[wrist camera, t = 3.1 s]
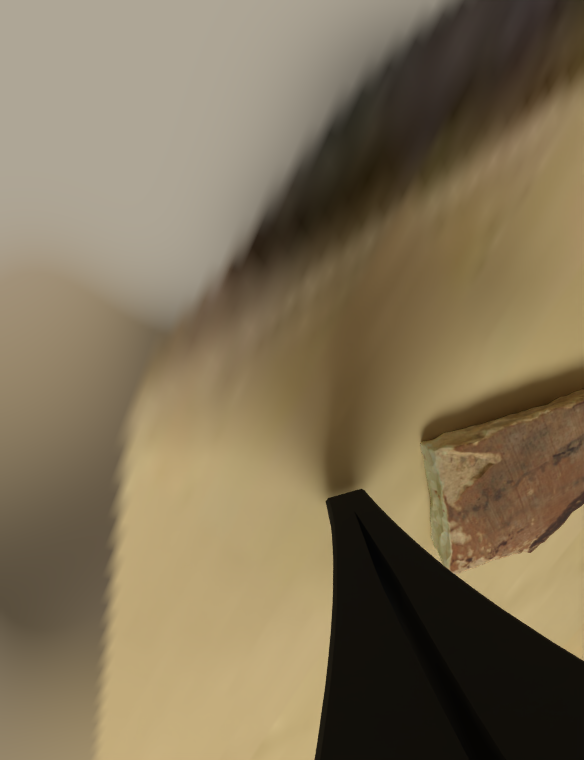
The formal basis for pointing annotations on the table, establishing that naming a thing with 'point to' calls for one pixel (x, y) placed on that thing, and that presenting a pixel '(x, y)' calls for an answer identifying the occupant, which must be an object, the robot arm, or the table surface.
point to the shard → (505, 482)
